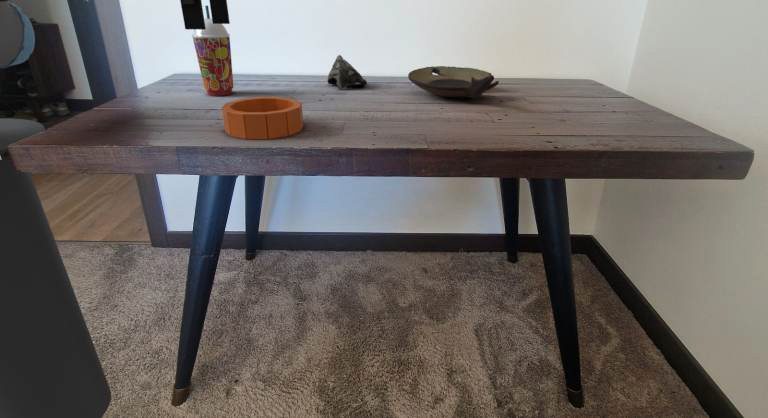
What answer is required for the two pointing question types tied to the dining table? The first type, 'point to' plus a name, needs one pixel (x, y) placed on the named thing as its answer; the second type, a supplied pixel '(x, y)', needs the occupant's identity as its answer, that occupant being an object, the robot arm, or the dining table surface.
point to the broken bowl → (453, 81)
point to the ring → (263, 117)
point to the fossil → (344, 74)
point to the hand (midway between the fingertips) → (209, 26)
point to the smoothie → (214, 57)
